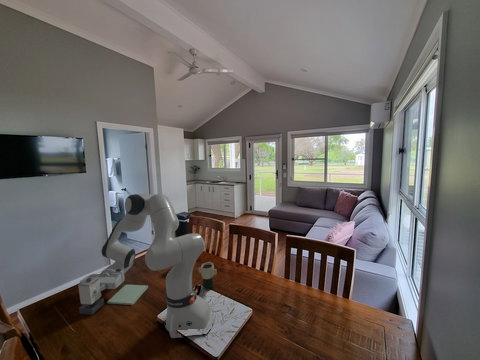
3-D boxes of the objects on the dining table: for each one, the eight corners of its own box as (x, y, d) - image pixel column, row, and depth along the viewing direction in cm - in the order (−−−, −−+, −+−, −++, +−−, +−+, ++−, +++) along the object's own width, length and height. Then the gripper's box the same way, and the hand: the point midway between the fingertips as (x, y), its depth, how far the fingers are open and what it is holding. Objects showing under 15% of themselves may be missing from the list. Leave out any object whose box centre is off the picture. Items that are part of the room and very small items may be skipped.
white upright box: (101, 296, 102) (98, 275, 100) (91, 304, 96) (88, 283, 95) (90, 295, 102) (88, 275, 101) (80, 303, 97) (77, 282, 95)
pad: (148, 287, 116) (148, 285, 115) (132, 305, 102) (132, 303, 102) (125, 286, 117) (125, 284, 117) (107, 303, 103) (107, 301, 103)
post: (104, 304, 103) (102, 287, 102) (92, 314, 96) (90, 297, 95) (91, 303, 104) (89, 287, 103) (79, 313, 97) (77, 296, 96)
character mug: (219, 284, 117) (218, 263, 115) (215, 292, 110) (214, 269, 108) (202, 281, 119) (201, 261, 118) (196, 289, 112) (195, 267, 111)
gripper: (92, 269, 112) (68, 284, 99) (125, 270, 110) (106, 286, 96) (93, 279, 113) (70, 296, 99) (127, 281, 111) (108, 298, 97)
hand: (88, 291), depth 98 cm, fingers closed on white upright box, 6 cm apart
